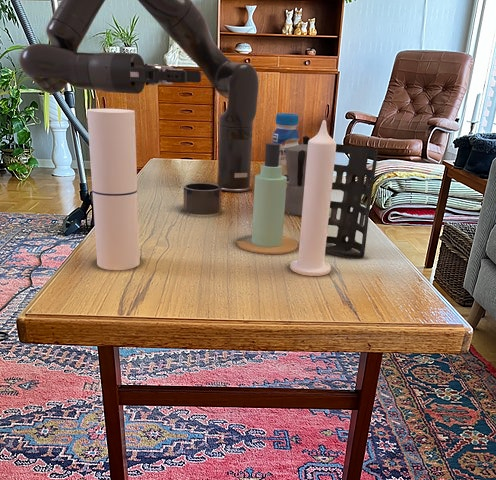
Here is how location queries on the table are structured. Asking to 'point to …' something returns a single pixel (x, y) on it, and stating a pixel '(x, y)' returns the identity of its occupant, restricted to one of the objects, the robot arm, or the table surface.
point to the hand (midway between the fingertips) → (193, 76)
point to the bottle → (269, 200)
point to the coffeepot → (296, 177)
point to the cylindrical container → (114, 187)
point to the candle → (316, 205)
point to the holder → (352, 201)
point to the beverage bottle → (285, 136)
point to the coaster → (285, 247)
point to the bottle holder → (202, 198)
